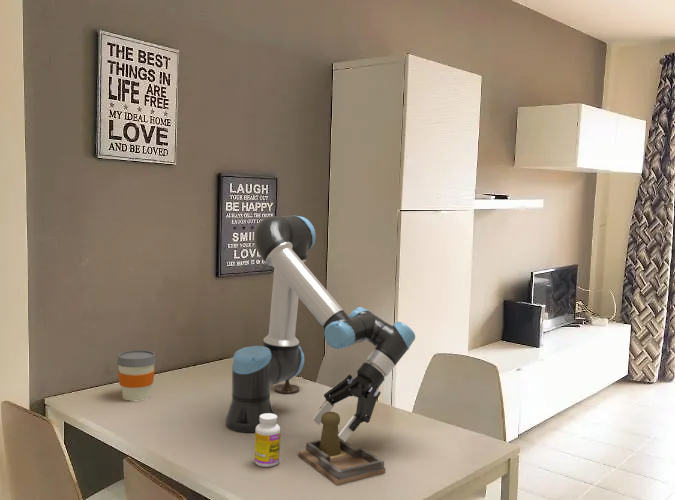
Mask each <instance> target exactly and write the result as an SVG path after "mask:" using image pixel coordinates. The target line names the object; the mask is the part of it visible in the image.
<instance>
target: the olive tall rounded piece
mask: <svg viewBox="0 0 675 500" xmlns="http://www.w3.org/2000/svg"><path fill="white" fill-rule="evenodd" d="M340 422H341V416H340V415H339V413H338V412H335V411H330V412H326V413H324V414H323V415H322V418H321V424H322V430H321V436H320V440H321V441H320V447H319V449H320V450H321V451H323V452H324V453H326V454H327V455H329V456H337V455H339V454H340V441H339V438H340V437H339V436H338V434H339V433H340V432H339V425H340Z"/></svg>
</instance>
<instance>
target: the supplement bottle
mask: <svg viewBox="0 0 675 500" xmlns="http://www.w3.org/2000/svg"><path fill="white" fill-rule="evenodd" d="M259 421H260V424H258V425H257V426H256V430H255V432H254V434H255V435H254V436H255V437H254V463H255V465H257V466H259V467H263V468H271V467H275V466H277V465H278V464H279V462H280V455H281V454H280V453H281V452H280V450H281V449H280V448H281V427H280V425H279V424H278V423H277V421H278V415H277V414H275V413H274V414H272V413H265V414H261V415H260V419H259Z"/></svg>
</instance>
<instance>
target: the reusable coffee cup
mask: <svg viewBox="0 0 675 500" xmlns="http://www.w3.org/2000/svg"><path fill="white" fill-rule="evenodd" d="M156 362H157V361H156V354H155V352H154V351H151V350H145V349H138V350H137V349H135V350H126V351H123V352H119V354H118V355H117V361H116V364H117V365H118V372H117V375H118V380H119V381H118V382H119V385H120V386H121V395H122V400H124V399H125V400H124V401H126V400H131V401H130V402H135V401H134V400H142V399H146V398H148V397H149V396H150V397H151V390H152V384H153V383H154V380H155V371H156V369H155V364H156ZM148 399H149V398H148ZM146 400H147V399H146Z"/></svg>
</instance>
